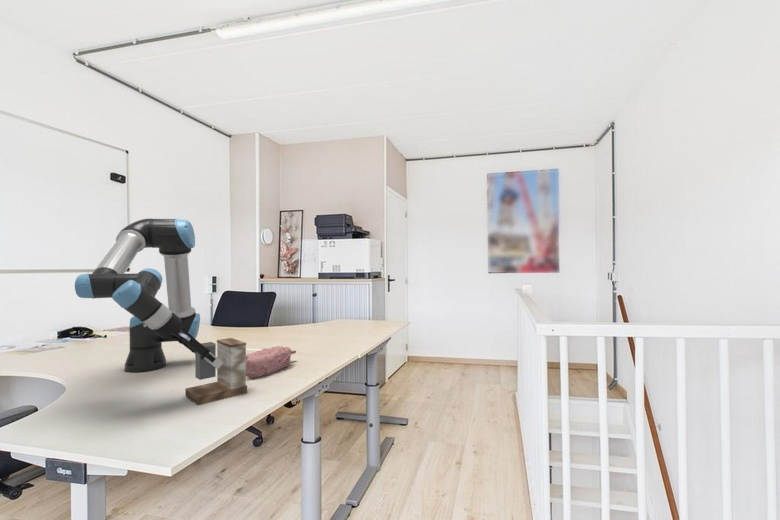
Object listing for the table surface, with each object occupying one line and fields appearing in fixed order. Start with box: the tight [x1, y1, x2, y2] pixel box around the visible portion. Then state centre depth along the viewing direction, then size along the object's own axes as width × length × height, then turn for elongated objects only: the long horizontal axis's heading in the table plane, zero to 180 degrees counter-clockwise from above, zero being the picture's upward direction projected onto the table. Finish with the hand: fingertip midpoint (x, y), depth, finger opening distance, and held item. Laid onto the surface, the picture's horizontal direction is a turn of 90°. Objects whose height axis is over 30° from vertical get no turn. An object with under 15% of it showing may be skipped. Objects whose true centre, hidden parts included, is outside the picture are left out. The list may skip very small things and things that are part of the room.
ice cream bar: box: [246, 345, 297, 379], centre depth 161 cm, size 13×9×30 cm
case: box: [194, 341, 217, 381], centre depth 128 cm, size 5×4×11 cm
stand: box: [184, 337, 248, 406], centre depth 131 cm, size 16×12×17 cm
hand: (217, 364), depth 131 cm, fingers closed on case, 4 cm apart
